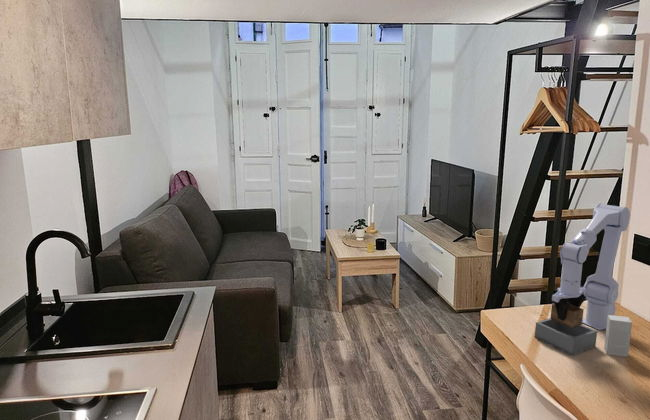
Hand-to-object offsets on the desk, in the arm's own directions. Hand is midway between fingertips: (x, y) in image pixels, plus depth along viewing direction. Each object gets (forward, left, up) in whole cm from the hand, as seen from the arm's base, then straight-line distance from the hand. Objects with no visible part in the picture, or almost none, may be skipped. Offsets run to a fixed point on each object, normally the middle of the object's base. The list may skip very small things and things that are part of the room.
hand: (566, 317), depth 157 cm
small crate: (0, 0, -2) cm, 2 cm away
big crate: (0, 0, -9) cm, 9 cm away
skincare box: (-8, +13, -9) cm, 17 cm away
